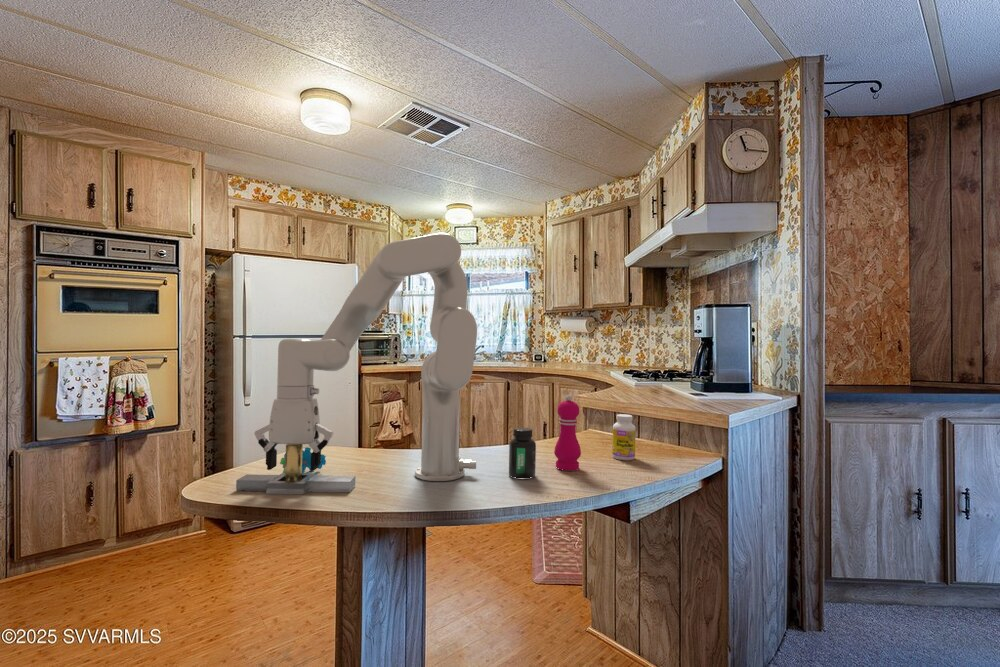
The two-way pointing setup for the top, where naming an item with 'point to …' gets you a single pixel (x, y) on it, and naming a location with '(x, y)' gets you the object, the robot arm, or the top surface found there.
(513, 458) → the supplement bottle
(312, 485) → the grey base plate
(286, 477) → the gold square peg
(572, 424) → the pepper mill
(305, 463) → the gear
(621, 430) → the supplement bottle
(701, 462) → the top surface
